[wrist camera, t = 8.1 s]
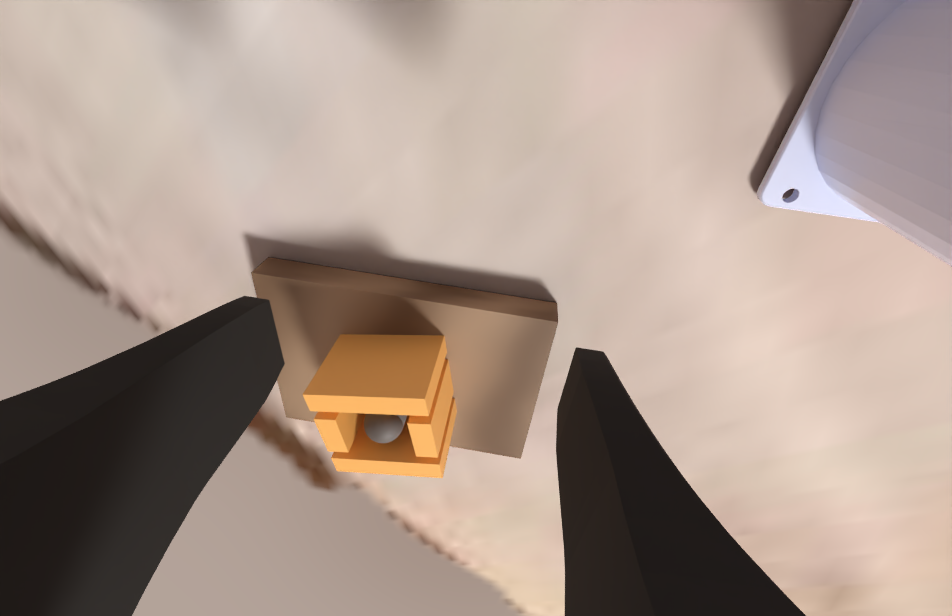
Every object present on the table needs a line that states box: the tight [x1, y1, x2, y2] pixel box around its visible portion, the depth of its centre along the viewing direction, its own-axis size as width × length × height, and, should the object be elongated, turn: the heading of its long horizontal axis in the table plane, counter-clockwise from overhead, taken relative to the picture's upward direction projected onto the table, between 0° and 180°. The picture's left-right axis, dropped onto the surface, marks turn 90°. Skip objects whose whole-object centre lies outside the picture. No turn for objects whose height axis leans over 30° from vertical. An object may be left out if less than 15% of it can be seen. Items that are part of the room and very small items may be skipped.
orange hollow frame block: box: [302, 334, 457, 478], centre depth 20 cm, size 5×5×4 cm
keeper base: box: [251, 257, 558, 459], centre depth 21 cm, size 14×10×5 cm
